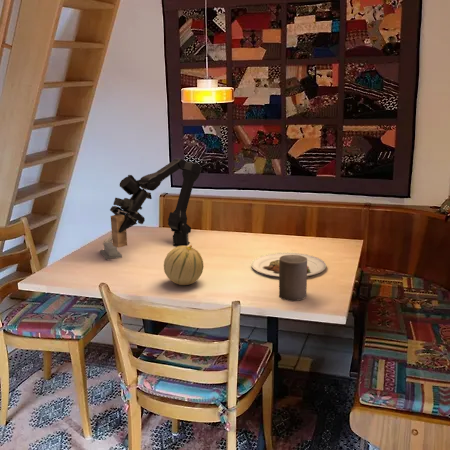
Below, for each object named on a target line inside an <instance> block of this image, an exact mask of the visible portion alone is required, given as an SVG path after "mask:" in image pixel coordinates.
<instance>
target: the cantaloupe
mask: <svg viewBox="0 0 450 450" xmlns="http://www.w3.org/2000/svg"><path fill="white" fill-rule="evenodd" d="M163 271H164V274H165V275H166V278H167V279H169V280H170V281H171V282H173V283H174V284H176V285H180V286H188V285H192V284H194V283H196V282H197V281H198V279H200V277H201V275H202V274H203V271H204V259H203V257H202V255H201V253H200V252H199V251H198V250H197V249H196V248H194V247H193V245H192V244H191V245H187V246H175V247H174V248H173V249H171V250H170V251H169V252H168V253H167V254H166V256H165V258H164V261H163Z"/></svg>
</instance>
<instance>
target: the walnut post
mask: <svg viewBox="0 0 450 450" xmlns="http://www.w3.org/2000/svg"><path fill="white" fill-rule="evenodd" d="M123 222H124V215H121V214H117V215H115V214H113V215H110V227H111V234H112V239H111V242H112V243H113V246H115V247H117V249H119V248H122V247H126V246H128V240H127V239H128V238H127V237H128V236H127V235H128V234H127V229H126V230H124V231H123V232H121V233H120V232H118V231H119V229H120V227H121V225H122V223H123Z"/></svg>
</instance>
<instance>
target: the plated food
mask: <svg viewBox="0 0 450 450" xmlns="http://www.w3.org/2000/svg"><path fill="white" fill-rule="evenodd" d="M285 255H300V256H304V257H306V258H307V277H309V276H314V275H318V274H320V273H322V272H323V271H325V269H326V267H327V265H326V262H325V261H324V260H322V259H321V258H319V257H317V256H313V255H309V254H306V253H299V252H298V253H297V252H275V253H268V254H264V255H263V254H262V255H260V256H258V257H256V258H254V259H253V260H251V263H250V266H251V268H253V270H255V271H256V272H258V273H260V274H262V275H267V276H271V277H278V278H279V260H280V257H282V256H285Z"/></svg>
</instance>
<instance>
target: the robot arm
mask: <svg viewBox="0 0 450 450" xmlns="http://www.w3.org/2000/svg"><path fill="white" fill-rule="evenodd" d="M179 170H181V171H182V173H181V174H182V179H183V181H182V184H181V188H180V192H179V195H178V199H177V203H176V206H175V210H174V211H173V212H171V211H170V212H169V214H168V218H167V222H168V223H167V226H168V227H169V228H170V231H171V232H173V235H172V246H174V247H178V246H189V244H190V241H189V234H190V233H191V232H192V227H191V226H190V225H189V224H188V217H187V215H188V214H187V210H188V205H189V203H190V197H191V194H192V192H193V191H192V190H193V189H194V188H193V187H194V184H195V182H196V181H197V179H199V177H200V175H201V172H202V166H201V164H199V163H198V162H191V161H187V160H184V159H182V158H174V159H173V160H171V162H169V163H168V164H165V166H163V167H161V168H160V169H158V170H157V171H155V172H153V173H149V174H146V175H143V176H142V177H141V178H140V179H136V178H135V177H134V176H133V175H132V174H128V175H127V176H125V177H124V178H123V179H121V181H120V182H119V187H120V188H121V189H122V190H123V191H125V193H126V194H128V195H129V196H131V197H130V198H127V197H124V198H119V197H115V198H114V201H113V205H112V206H111V207H110V209H109V211H110V212H111V213H112V214H113V215H117V214H121V215H124V222H123V223H122V225H121V227H120V229H119V231H118V232H120V233H121V232H123V231H124V230H126V231H127V230H128V229H129V228H131V227H133V226H135V225H137V224H140V225H144V222H145V216H143V215H142V214H141V212H139V210H143V207H142V206H143V204H144V203H145V201H146V199H149V200H152V199H153V198H152V193H151V192H148V191H152V192H153V191H155V190H157V188H159V186H160V185H161V183H162V182H163V181H164V180H166V179H167V178H168V177H170V176H171V175H173V174H174V173H176V172H177V171H179Z"/></svg>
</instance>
